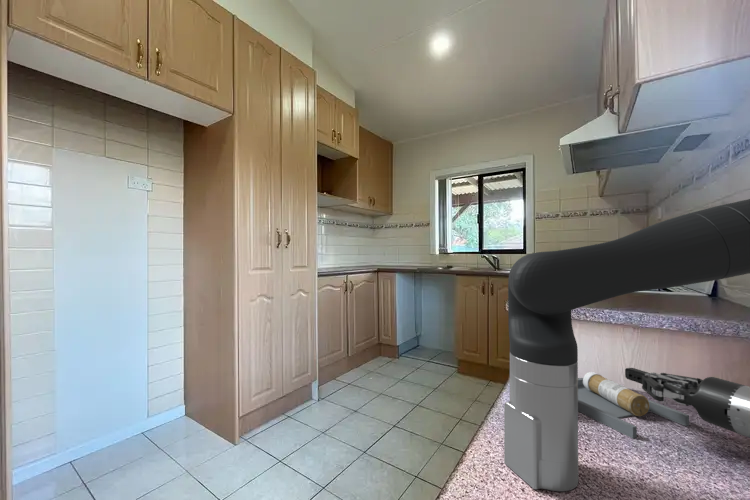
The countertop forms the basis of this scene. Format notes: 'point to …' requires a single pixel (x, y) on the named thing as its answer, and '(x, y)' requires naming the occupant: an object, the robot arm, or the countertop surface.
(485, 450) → the countertop surface
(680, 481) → the countertop surface
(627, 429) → the grey open-ended tray
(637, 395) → the sprinkles bottle
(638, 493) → the countertop surface
